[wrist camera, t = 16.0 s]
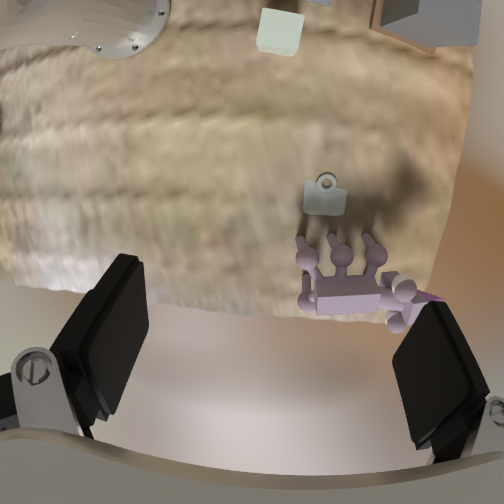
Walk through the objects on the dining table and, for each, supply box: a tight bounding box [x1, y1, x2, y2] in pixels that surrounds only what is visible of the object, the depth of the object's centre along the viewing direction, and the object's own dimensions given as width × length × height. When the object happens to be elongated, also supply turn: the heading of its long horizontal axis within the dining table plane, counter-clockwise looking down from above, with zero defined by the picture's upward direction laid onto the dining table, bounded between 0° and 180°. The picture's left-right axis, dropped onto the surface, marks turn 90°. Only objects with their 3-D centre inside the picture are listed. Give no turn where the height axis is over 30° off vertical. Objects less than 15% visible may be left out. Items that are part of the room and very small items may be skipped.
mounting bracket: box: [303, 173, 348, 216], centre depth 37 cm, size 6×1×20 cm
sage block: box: [256, 8, 305, 57], centre depth 27 cm, size 4×4×8 cm
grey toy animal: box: [296, 233, 444, 333], centre depth 40 cm, size 20×11×14 cm, turn 94°
